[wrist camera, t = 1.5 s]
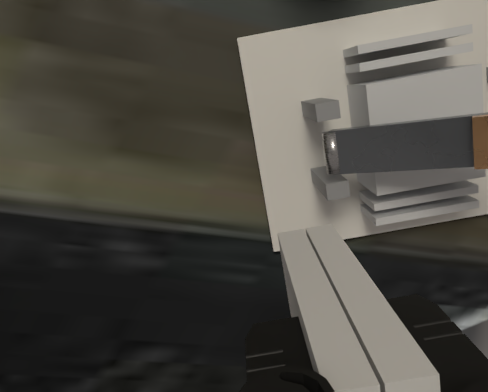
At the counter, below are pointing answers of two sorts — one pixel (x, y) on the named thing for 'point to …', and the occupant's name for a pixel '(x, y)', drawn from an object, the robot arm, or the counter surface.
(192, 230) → the counter surface
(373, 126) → the lever
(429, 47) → the heatsink base
